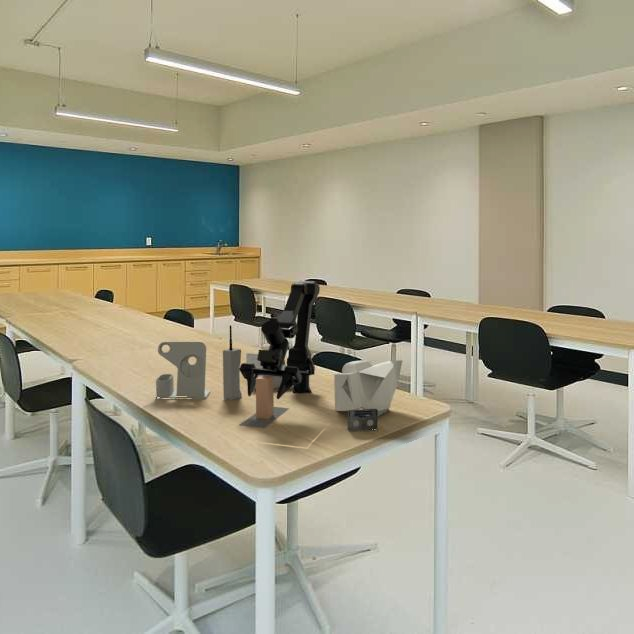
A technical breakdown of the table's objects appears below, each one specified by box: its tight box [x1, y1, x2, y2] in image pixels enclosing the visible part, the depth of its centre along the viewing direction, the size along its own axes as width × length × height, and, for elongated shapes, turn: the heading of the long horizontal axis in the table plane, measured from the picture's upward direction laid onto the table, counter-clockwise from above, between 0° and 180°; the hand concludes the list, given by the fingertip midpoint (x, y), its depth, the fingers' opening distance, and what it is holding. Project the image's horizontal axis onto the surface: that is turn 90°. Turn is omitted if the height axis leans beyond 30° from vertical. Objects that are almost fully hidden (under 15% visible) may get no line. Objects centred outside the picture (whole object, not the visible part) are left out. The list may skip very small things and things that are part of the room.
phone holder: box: [155, 341, 211, 400], centre depth 194 cm, size 17×10×18 cm, turn 92°
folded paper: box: [333, 359, 403, 417], centre depth 177 cm, size 17×24×17 cm
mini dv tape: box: [347, 408, 379, 432], centre depth 160 cm, size 8×2×6 cm, turn 98°
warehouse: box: [245, 352, 287, 390], centre depth 219 cm, size 30×14×8 cm, turn 10°
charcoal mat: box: [239, 406, 290, 429], centre depth 171 cm, size 20×8×1 cm, turn 162°
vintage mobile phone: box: [222, 325, 243, 401], centre depth 190 cm, size 4×5×25 cm
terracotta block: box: [255, 375, 275, 419], centre depth 170 cm, size 4×4×12 cm
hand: (263, 397), depth 169 cm, fingers open, 9 cm apart
